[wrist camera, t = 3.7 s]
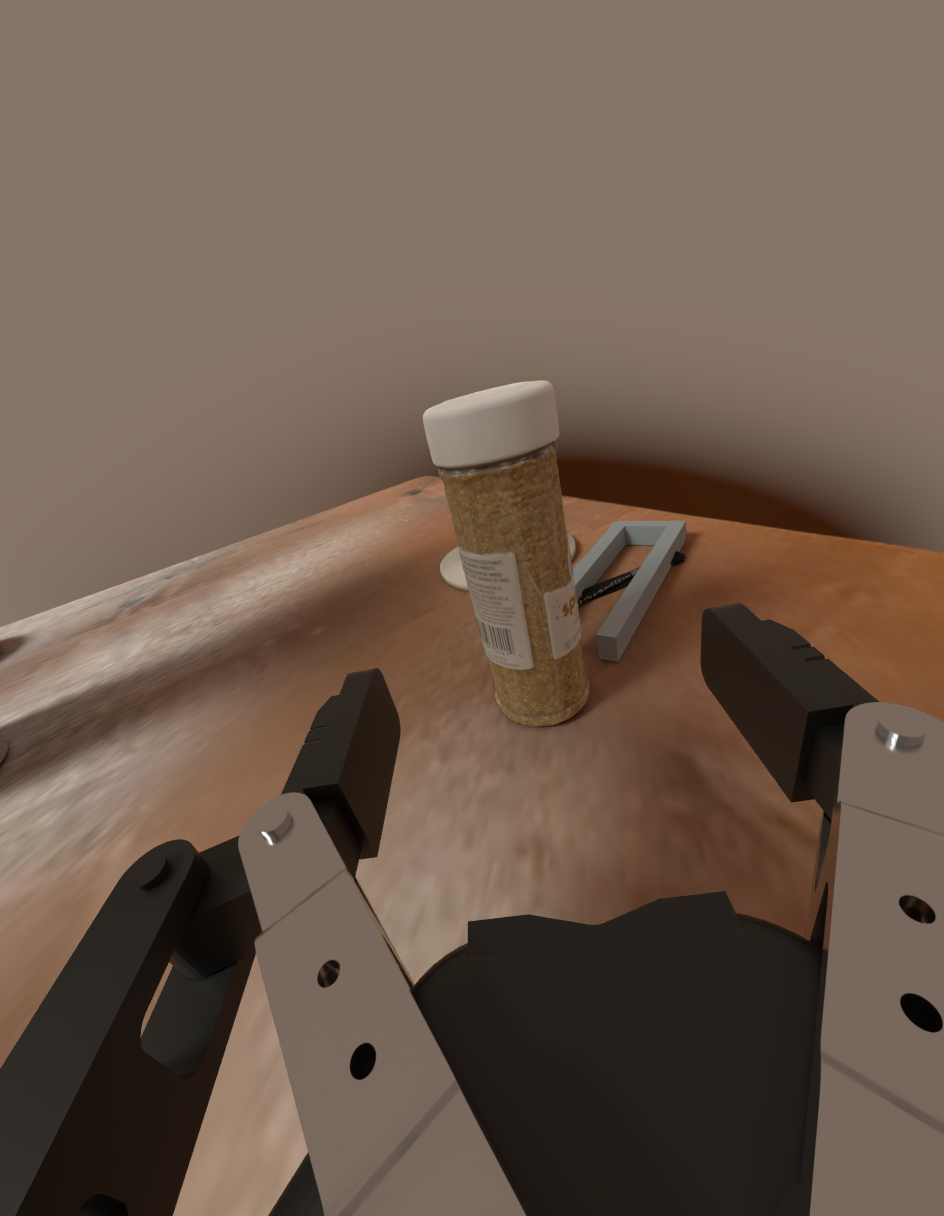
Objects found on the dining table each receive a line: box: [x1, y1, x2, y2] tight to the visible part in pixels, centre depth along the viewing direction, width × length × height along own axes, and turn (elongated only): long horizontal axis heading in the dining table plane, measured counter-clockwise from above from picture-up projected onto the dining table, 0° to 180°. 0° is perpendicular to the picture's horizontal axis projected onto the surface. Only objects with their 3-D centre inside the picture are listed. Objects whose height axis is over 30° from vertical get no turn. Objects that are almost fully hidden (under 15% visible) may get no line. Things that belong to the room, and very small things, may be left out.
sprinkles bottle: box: [423, 381, 590, 726], centre depth 18 cm, size 5×5×13 cm
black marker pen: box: [577, 551, 685, 605], centre depth 29 cm, size 12×1×1 cm, turn 112°
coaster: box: [440, 533, 576, 591], centre depth 36 cm, size 11×11×1 cm
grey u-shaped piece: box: [573, 521, 686, 662], centre depth 28 cm, size 5×15×2 cm, turn 146°
